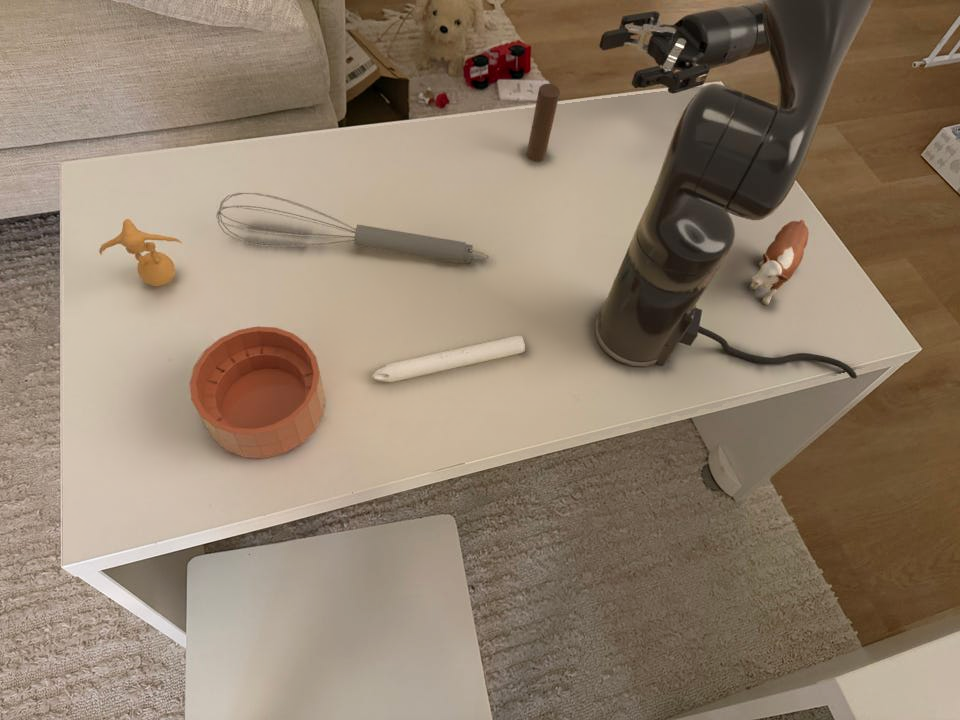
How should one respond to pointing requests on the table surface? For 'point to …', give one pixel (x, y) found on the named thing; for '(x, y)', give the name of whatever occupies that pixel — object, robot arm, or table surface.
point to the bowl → (258, 391)
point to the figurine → (151, 265)
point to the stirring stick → (542, 122)
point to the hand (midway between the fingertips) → (617, 60)
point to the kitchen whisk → (372, 237)
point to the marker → (450, 359)
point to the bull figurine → (781, 258)
